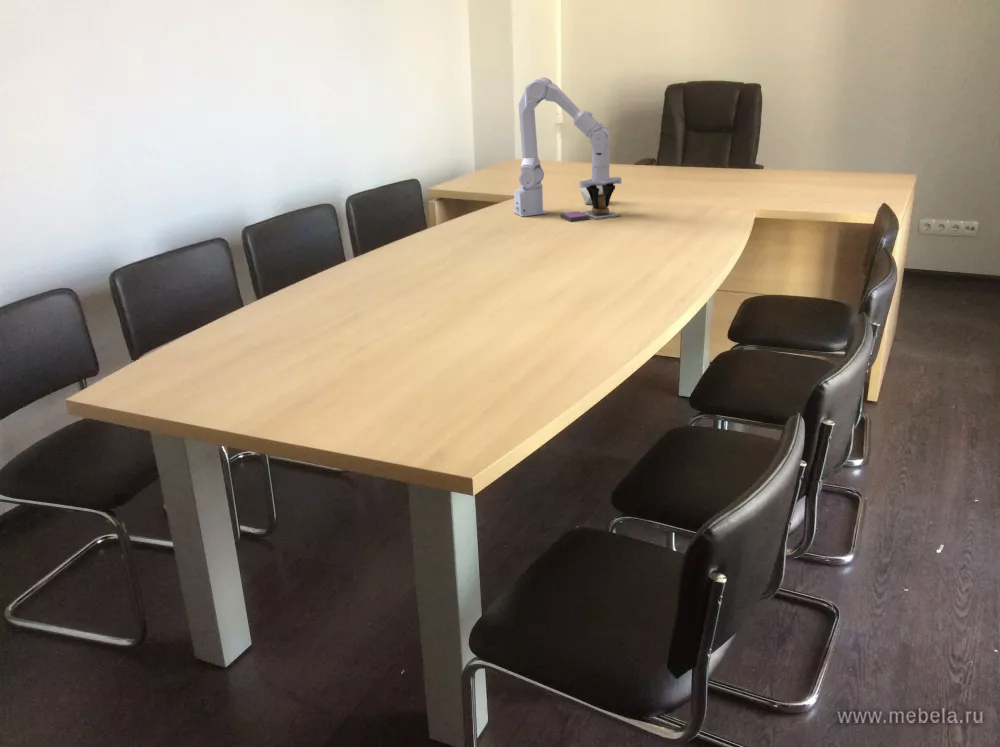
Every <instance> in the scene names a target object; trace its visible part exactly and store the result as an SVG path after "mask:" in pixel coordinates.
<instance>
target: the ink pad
mask: <svg viewBox="0 0 1000 747" xmlns="http://www.w3.org/2000/svg"><path fill="white" fill-rule="evenodd" d="M559 217H560V218H561V219H564V220H565V221H568V222H570V223H571V222H579V221H580V220H581V221H587V220H590V218H591V217H590V216H588V215H586V214H583V212H580V211H572V212H571V211H570V212H564V213H560V215H559Z"/></svg>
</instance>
